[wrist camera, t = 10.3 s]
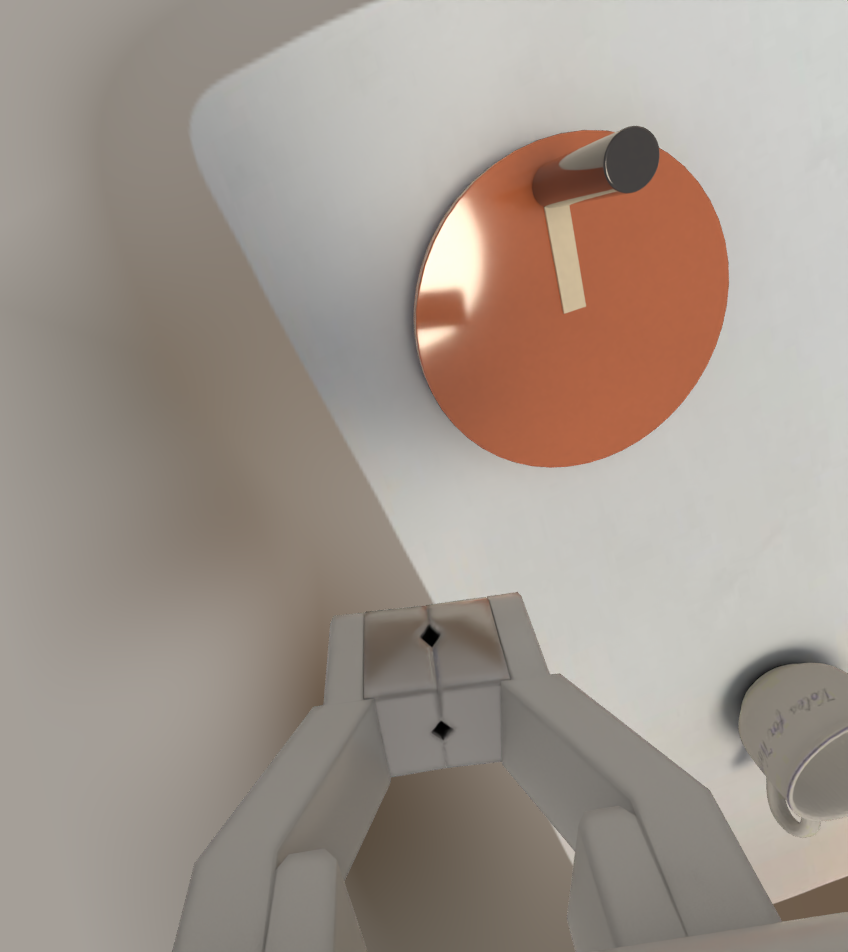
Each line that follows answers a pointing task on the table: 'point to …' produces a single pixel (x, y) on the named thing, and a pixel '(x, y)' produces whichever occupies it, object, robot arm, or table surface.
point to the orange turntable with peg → (571, 297)
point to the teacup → (800, 742)
